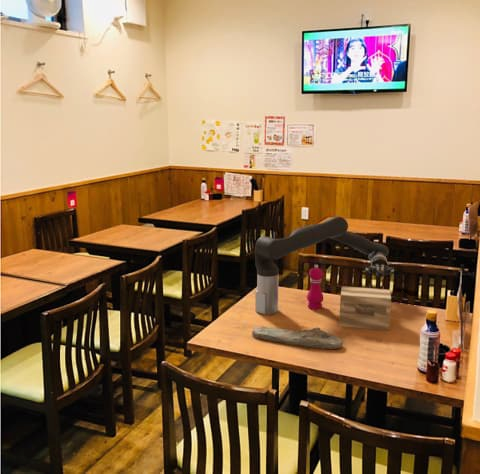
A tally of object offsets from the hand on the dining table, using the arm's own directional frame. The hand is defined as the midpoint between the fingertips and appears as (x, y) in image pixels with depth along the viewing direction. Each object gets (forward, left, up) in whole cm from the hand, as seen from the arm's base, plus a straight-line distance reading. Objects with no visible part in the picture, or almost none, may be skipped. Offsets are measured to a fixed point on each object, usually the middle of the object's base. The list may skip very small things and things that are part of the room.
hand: (380, 275), depth 224 cm
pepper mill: (-21, +19, -15) cm, 32 cm away
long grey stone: (-53, +1, -16) cm, 55 cm away
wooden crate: (-19, -6, -15) cm, 25 cm away
